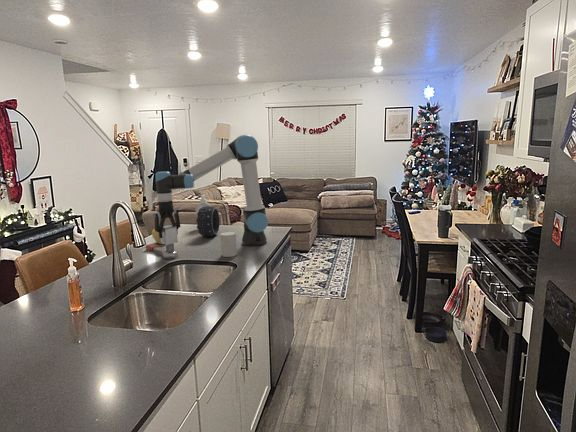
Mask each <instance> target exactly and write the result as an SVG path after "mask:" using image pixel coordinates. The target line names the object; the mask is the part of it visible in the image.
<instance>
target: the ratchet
mask: <svg viewBox="0 0 576 432" xmlns="http://www.w3.org/2000/svg"><path fill="white" fill-rule="evenodd" d="M145 249H146V251H148V252H151V253H153V254H157V255H158V256H159V255H160V256H161V257H162V258H163V259H164V260H174V259H177V258H179V251H178V250H177V249H175V243H173V244H168V245H166V244H165V248H164V247H161V246H160V245H159V244H155V243H149V244H146V245H145Z"/></svg>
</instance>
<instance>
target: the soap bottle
mask: <svg viewBox="0 0 576 432" xmlns="http://www.w3.org/2000/svg"><path fill="white" fill-rule="evenodd" d="M200 196H201V198H200V199H199V203H198V204H196V206H195V216H196V217H197V213H198V212H199V211H198V210H199V209H200V208H202V207H205V206H212V205H211V204H210V203H209V202H207V198H206V197H205V196H206V194H201V195H200Z"/></svg>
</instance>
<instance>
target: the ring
mask: <svg viewBox="0 0 576 432" xmlns="http://www.w3.org/2000/svg"><path fill="white" fill-rule="evenodd" d="M198 211H199V212H198V213H197V216H196V217H197V218H196V219H195V220H196V223H197V225H196V228H197V230H198V231H197V233H199V234H200V235H201V236H202V237H214V236H215V235H217V234H218V233H219V231H220V226H221V225H220V214H219V213H220V212H219V210H218V208H216V207H215V206H212V205H211V206H205V207H202V208H200V209H199V210H198Z"/></svg>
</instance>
